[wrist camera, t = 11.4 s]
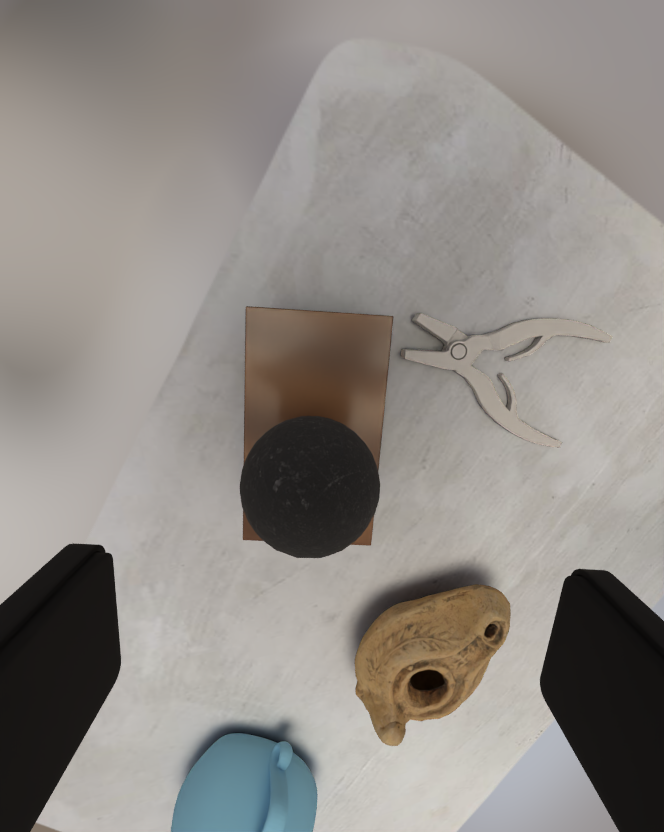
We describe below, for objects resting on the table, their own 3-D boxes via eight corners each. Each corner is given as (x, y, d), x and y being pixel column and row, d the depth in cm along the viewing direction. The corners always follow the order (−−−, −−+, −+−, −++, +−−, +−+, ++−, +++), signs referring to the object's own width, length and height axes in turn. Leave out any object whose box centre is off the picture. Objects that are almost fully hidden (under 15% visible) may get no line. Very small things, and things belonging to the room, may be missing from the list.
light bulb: (246, 443, 23) (191, 535, 13) (304, 367, 22) (289, 405, 12) (323, 497, 24) (324, 618, 14) (381, 426, 23) (425, 504, 13)
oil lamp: (518, 588, 36) (571, 661, 29) (420, 699, 39) (445, 793, 31) (423, 530, 35) (452, 590, 27) (328, 650, 38) (330, 736, 30)
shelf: (267, 310, 30) (245, 306, 21) (372, 317, 30) (393, 316, 22) (263, 482, 33) (242, 540, 25) (358, 486, 34) (371, 545, 25)
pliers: (564, 454, 32) (388, 398, 30) (553, 447, 33) (385, 394, 32) (622, 333, 29) (435, 267, 28) (607, 333, 31) (429, 270, 30)
